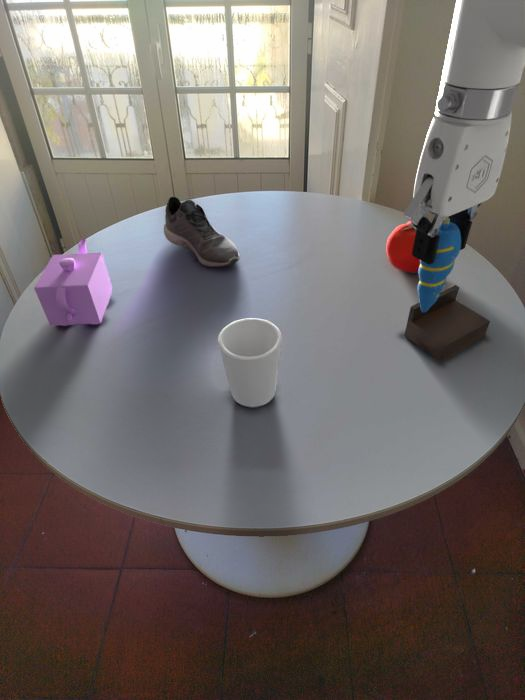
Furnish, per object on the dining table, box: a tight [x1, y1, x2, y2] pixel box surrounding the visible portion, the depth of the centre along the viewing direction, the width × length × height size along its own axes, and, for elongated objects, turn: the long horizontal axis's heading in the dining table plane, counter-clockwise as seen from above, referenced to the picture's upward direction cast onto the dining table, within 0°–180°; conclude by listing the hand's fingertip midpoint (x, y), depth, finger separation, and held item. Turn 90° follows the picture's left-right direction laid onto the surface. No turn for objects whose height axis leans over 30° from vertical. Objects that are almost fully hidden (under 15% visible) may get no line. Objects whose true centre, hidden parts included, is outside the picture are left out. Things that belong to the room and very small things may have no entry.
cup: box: [217, 317, 283, 410], centre depth 76 cm, size 10×10×13 cm
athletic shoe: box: [163, 196, 241, 268], centre depth 113 cm, size 10×26×12 cm, turn 39°
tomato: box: [385, 220, 421, 274], centre depth 104 cm, size 12×12×11 cm
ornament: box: [417, 217, 461, 313], centre depth 63 cm, size 5×5×15 cm
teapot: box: [33, 238, 114, 327], centre depth 96 cm, size 20×10×13 cm, turn 2°
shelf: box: [404, 284, 491, 363], centre depth 87 cm, size 9×12×7 cm
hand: (438, 251), depth 61 cm, fingers closed on ornament, 5 cm apart
